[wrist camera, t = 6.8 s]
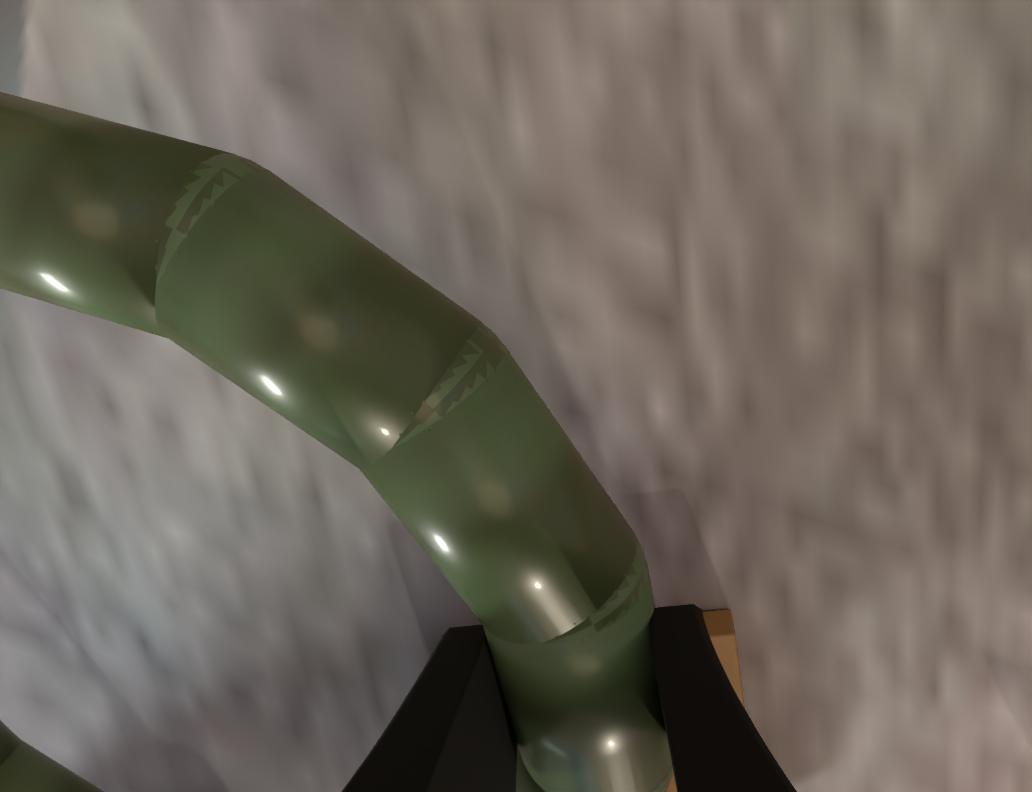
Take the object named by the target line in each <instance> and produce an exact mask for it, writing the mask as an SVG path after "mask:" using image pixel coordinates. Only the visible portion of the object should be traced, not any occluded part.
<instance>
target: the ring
mask: <svg viewBox="0 0 1032 792" xmlns="http://www.w3.org/2000/svg"><path fill="white" fill-rule="evenodd" d="M0 288H1V289H5V290H8V291H11V292H15V293H18V294H21V295H25V296H28V297H32V298H35V299H38V300H42V301H45V302H48V303H52V304H55V305H58V306H62V307H65V308H68V309H72V310H75V311H78V312H82V313H85V314H88V315H92V316H95V317H98V318H102V319H105V320H108V321H112V322H115V323H119V324H122V325H125V326H129V327H132V328H135V329H139V330H142V331H145V332H149V333H152V334H155V335H159V336H162V337H165V338H169V339H170V340H172V341H173V342H174V343H176V344H177V345H179V346H180V347H182V348H183V349H185V350H186V351H188V352H189V353H191V354H192V355H193V356H195V357H196V358H198V359H199V360H201V361H202V362H204V363H205V364H207V365H208V366H210V367H211V368H212V369H214V370H215V371H217V372H218V373H220V374H221V375H223V376H224V377H226V378H227V379H229V380H230V381H231V382H233V383H234V384H236V385H237V386H239V387H240V388H242V389H243V390H245V391H246V392H248V393H249V394H251V395H252V396H253V397H255V398H256V399H258V400H259V401H261V402H262V403H264V404H265V405H267V406H268V407H270V408H271V409H272V410H274V411H275V412H277V413H278V414H280V415H281V416H283V417H284V418H286V419H287V420H289V421H290V422H291V423H293V424H294V425H296V426H297V427H299V428H300V429H302V430H303V431H305V432H306V433H308V434H309V435H310V436H312V437H313V438H315V439H316V440H318V441H319V442H321V443H322V444H324V445H325V446H327V447H328V448H329V449H331V450H332V451H334V452H335V453H337V454H338V455H340V456H341V457H343V458H344V459H346V460H347V461H349V462H350V463H351V464H353V465H354V466H356V467H357V468H359V469H360V470H361V472H362V473H363V474H364V475H365V477H366V478H367V479H368V480H369V482H370V483H371V484H372V485H373V487H374V488H375V489H376V490H377V492H378V493H379V494H380V495H381V497H382V498H383V499H384V501H385V502H386V503H387V504H388V506H389V507H390V508H391V509H392V511H393V512H394V513H395V514H396V516H397V517H398V518H399V519H400V521H401V522H402V523H403V524H404V526H405V527H406V528H407V529H408V531H409V532H410V533H411V534H412V536H413V537H414V538H415V540H416V541H417V542H418V543H419V545H420V546H421V547H422V548H423V550H424V551H425V552H426V553H427V555H428V556H429V557H430V558H431V560H432V561H433V562H434V563H435V565H436V566H437V567H438V568H439V570H440V571H441V572H442V574H443V575H444V576H445V577H446V579H447V580H448V581H449V582H450V584H451V585H452V586H453V587H454V589H455V590H456V591H457V592H458V594H459V595H460V596H461V597H462V599H463V600H464V601H465V602H466V604H467V605H468V606H469V607H470V609H471V610H472V611H473V613H474V614H475V615H476V616H477V618H478V619H479V620H480V621H481V623H482V624H483V627H484V631H485V634H486V638H487V641H488V644H489V648H490V651H491V655H492V658H493V661H494V665H495V668H496V672H497V675H498V678H499V682H500V685H501V689H502V692H503V695H504V699H505V702H506V706H507V709H508V712H509V716H510V719H511V723H512V726H513V729H514V733H515V736H516V740H517V772H516V792H666V791H667V788H668V786H669V784H670V781H671V779H672V776H673V767H672V761H671V756H670V750H669V744H668V739H667V733H666V728H665V722H664V717H663V711H662V706H661V700H660V695H659V689H658V684H657V678H656V673H655V667H654V662H653V656H652V651H651V640H650V618H651V616H652V614H653V611H654V608H655V606H654V600H653V594H652V588H651V583H650V577H649V571H648V565H647V562H646V559H645V556H644V553H643V549H642V546H641V544H640V542H639V541H638V539H637V537H636V535H635V533H634V532H633V530H632V529H631V527H630V526H629V524H628V523H627V522H626V520H625V519H624V517H623V516H622V514H621V513H620V511H619V510H618V509H617V507H616V506H615V504H614V503H613V501H612V500H611V498H610V497H609V496H608V494H607V493H606V491H605V490H604V488H603V487H602V485H601V484H600V483H599V481H598V480H597V478H596V477H595V475H594V474H593V472H592V471H591V470H590V468H589V467H588V465H587V464H586V462H585V461H584V459H583V458H582V457H581V455H580V454H579V452H578V451H577V449H576V448H575V446H574V445H573V444H572V442H571V441H570V439H569V438H568V436H567V435H566V434H565V432H564V431H563V429H562V428H561V426H560V425H559V423H558V422H557V421H556V419H555V418H554V416H553V415H552V413H551V412H550V410H549V409H548V408H547V406H546V405H545V403H544V402H543V400H542V399H541V397H540V396H539V395H538V393H537V392H536V390H535V389H534V387H533V386H532V384H531V383H530V382H529V380H528V379H527V377H526V376H525V374H524V373H523V371H522V370H521V369H520V367H519V366H518V364H517V363H516V361H515V360H514V358H513V357H512V356H511V354H510V353H509V351H508V350H507V348H506V347H505V345H504V344H503V343H502V342H501V341H500V340H499V338H498V337H497V336H496V335H495V333H493V332H492V331H491V329H489V328H488V327H487V326H486V325H484V324H483V323H482V322H481V321H480V320H478V319H477V318H476V317H474V316H473V315H471V314H470V313H469V312H467V311H466V310H464V309H463V308H462V307H460V306H459V305H457V304H456V303H455V302H453V301H452V300H450V299H449V298H448V297H446V296H445V295H443V294H442V293H440V292H439V291H438V290H436V289H435V288H433V287H432V286H431V285H429V284H428V283H426V282H425V281H424V280H422V279H421V278H419V277H418V276H417V275H415V274H414V273H412V272H411V271H410V270H408V269H407V268H405V267H404V266H403V265H401V264H400V263H398V262H397V261H396V260H394V259H393V258H391V257H390V256H389V255H387V254H386V253H384V252H383V251H382V250H380V249H379V248H377V247H376V246H374V245H373V244H372V243H370V242H369V241H367V240H366V239H365V238H363V237H362V236H360V235H359V234H358V233H356V232H355V231H353V230H352V229H351V228H349V227H348V226H346V225H345V224H344V223H342V222H341V221H339V220H338V219H337V218H335V217H334V216H332V215H331V214H330V213H328V212H327V211H325V210H324V209H323V208H321V207H320V206H318V205H317V204H316V203H314V202H313V201H311V200H310V199H309V198H307V197H306V196H304V195H303V194H301V193H300V192H299V191H297V190H296V189H294V188H293V187H292V186H290V185H289V184H287V183H286V182H285V181H283V180H282V179H280V178H279V177H278V176H276V175H275V174H273V173H272V172H271V171H269V170H267V169H265V168H263V167H262V166H260V165H259V164H257V163H255V162H253V161H251V160H249V159H246V158H243V157H241V156H238V155H235V154H232V153H228V152H225V151H221V150H217V149H213V148H210V147H206V146H202V145H198V144H195V143H191V142H187V141H183V140H179V139H176V138H172V137H168V136H164V135H161V134H157V133H153V132H149V131H146V130H142V129H138V128H134V127H131V126H127V125H123V124H119V123H115V122H112V121H108V120H104V119H100V118H97V117H93V116H89V115H85V114H82V113H78V112H74V111H70V110H67V109H63V108H59V107H55V106H51V105H48V104H44V103H40V102H36V101H33V100H29V99H25V98H21V97H18V96H14V95H10V94H6V93H2V92H0ZM0 792H104V791H102V790H101V789H99V788H97V787H96V786H94V785H93V784H91V783H89V782H88V781H86V780H85V779H83V778H81V777H80V776H78V775H77V774H75V773H73V772H72V771H70V770H69V769H67V768H65V767H64V766H62V765H61V764H59V763H57V762H56V761H54V760H53V759H51V758H49V757H48V756H46V755H45V754H43V753H41V752H40V751H38V750H37V749H35V748H33V747H32V746H30V745H29V744H27V743H25V742H24V741H22V740H21V739H20V738H19V737H18V736H16V735H15V734H14V733H13V732H12V731H11V730H10V729H9V728H8V727H7V726H6V725H5V724H4V723H3V722H1V721H0Z"/></svg>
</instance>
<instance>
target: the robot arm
mask: <svg viewBox="0 0 1032 792" xmlns="http://www.w3.org/2000/svg"><path fill="white" fill-rule="evenodd" d="M650 640H651V651H652V656H653V662H654V667H655V673H656V678H657V684H658V689H659V695H660V700H661V706H662V711H663V717H664V722H665V728H666V733H667V739H668V744H669V750H670V756H671V761H672V767H673V772H674V778H675V783H676V788H677V792H797V791H796V790H795V788H794V787H793V785H792V784H791V783H790V781H789V780H788V778H787V777H786V775H785V774H784V772H783V771H782V769H781V767H780V766H779V764H778V763H777V761H776V760H775V758H774V757H773V755H772V754H771V752H770V751H769V749H768V747H767V746H766V744H765V743H764V741H763V739H762V738H761V736H760V734H759V733H758V731H757V730H756V728H755V726H754V724H753V722H752V721H751V719H750V717H749V715H748V714H747V712H746V710H745V708H744V707H743V705H742V703H741V701H740V700H739V698H738V696H737V694H736V692H735V690H734V689H733V687H732V685H731V683H730V681H729V679H728V677H727V675H726V673H725V671H724V668H723V666H722V664H721V662H720V660H719V658H718V656H717V653H716V651H715V648H714V646H713V644H712V641H711V638H710V636H709V633H708V630H707V627H706V624H705V621H704V617H703V612H702V610H701V609H700V608H698V607H697V606H695V605H694V604H689V605H679V606H669V607H658V608H654V611H653V614H652V616H651V618H650ZM516 772H517V740H516V736H515V733H514V729H513V726H512V723H511V719H510V716H509V712H508V709H507V706H506V702H505V699H504V695H503V692H502V689H501V685H500V682H499V678H498V675H497V672H496V668H495V665H494V661H493V658H492V655H491V651H490V648H489V644H488V641H487V638H486V634H485V631H484V627H483V625H474V626H463V627H453V628H449V629H448V630H447V631H446V633H445V634H444V635H443V637H442V639H441V640H440V642H439V644H438V645H437V647H436V649H435V650H434V652H433V654H432V656H431V657H430V659H429V661H428V662H427V664H426V666H425V667H424V669H423V671H422V672H421V674H420V676H419V677H418V679H417V681H416V682H415V684H414V685H413V687H412V689H411V690H410V692H409V694H408V695H407V697H406V698H405V700H404V702H403V703H402V705H401V706H400V708H399V709H398V711H397V712H396V714H395V716H394V717H393V719H392V720H391V722H390V723H389V725H388V726H387V728H386V729H385V731H384V732H383V734H382V735H381V737H380V738H379V740H378V741H377V743H376V745H375V746H374V747H373V749H372V750H371V752H370V753H369V755H368V756H367V758H366V759H365V760H364V762H363V763H362V764H361V766H360V767H359V769H358V770H357V771H356V773H355V774H354V775H353V777H352V778H351V780H350V781H349V782H348V784H347V785H346V786H345V788H344V789H343V791H342V792H516Z"/></svg>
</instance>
